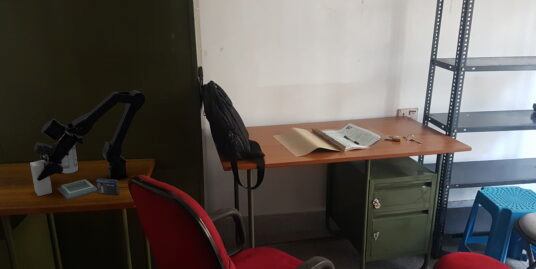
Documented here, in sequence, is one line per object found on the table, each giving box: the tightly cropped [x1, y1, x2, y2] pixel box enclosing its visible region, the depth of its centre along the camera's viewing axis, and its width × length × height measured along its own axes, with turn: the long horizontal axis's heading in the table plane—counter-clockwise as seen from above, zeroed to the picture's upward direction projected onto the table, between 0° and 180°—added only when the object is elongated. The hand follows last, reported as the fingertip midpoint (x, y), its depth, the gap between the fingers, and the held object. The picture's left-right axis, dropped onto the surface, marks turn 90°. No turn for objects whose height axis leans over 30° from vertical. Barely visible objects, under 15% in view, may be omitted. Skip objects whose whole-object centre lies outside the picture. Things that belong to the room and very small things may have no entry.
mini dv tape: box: [96, 178, 120, 196], centre depth 170 cm, size 8×2×6 cm, turn 80°
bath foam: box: [59, 131, 79, 175], centre depth 189 cm, size 7×7×20 cm
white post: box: [29, 159, 53, 197], centre depth 169 cm, size 5×5×12 cm
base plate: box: [57, 178, 98, 201], centre depth 173 cm, size 12×12×2 cm
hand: (37, 177), depth 168 cm, fingers closed on white post, 5 cm apart
